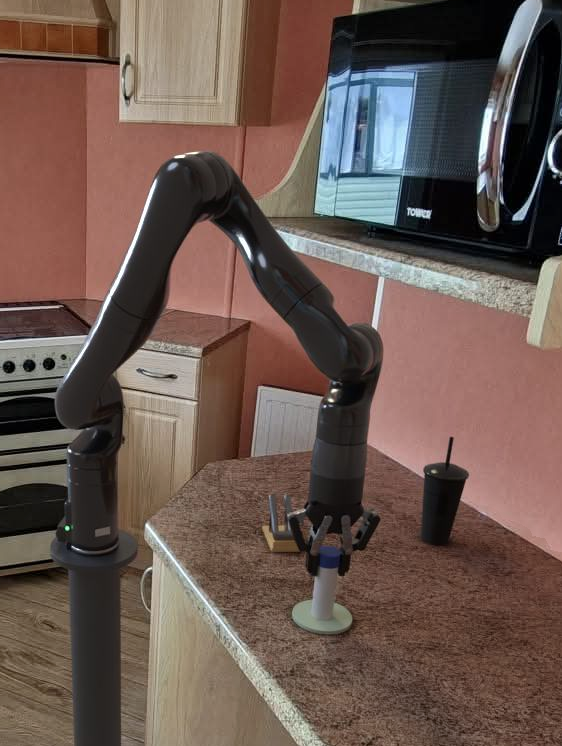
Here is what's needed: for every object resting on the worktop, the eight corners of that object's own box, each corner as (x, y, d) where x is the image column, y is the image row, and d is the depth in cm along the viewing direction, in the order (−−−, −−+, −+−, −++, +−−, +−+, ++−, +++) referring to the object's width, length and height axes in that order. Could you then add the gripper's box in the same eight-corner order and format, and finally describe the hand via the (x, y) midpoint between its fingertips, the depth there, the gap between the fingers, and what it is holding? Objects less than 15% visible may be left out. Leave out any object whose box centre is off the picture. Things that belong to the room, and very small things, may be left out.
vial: (302, 560, 126) (317, 540, 116) (325, 559, 126) (342, 540, 116) (309, 623, 122) (325, 608, 113) (332, 623, 122) (350, 608, 113)
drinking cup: (465, 543, 145) (484, 440, 137) (434, 552, 142) (452, 447, 134) (434, 527, 151) (450, 427, 143) (404, 535, 148) (419, 433, 140)
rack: (262, 529, 150) (264, 492, 147) (289, 529, 150) (292, 491, 147) (271, 552, 141) (274, 513, 138) (300, 551, 142) (304, 512, 139)
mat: (290, 630, 118) (291, 626, 118) (293, 599, 127) (293, 596, 126) (352, 638, 117) (353, 634, 116) (351, 606, 125) (351, 603, 124)
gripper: (294, 477, 108) (284, 587, 115) (396, 476, 109) (381, 585, 115) (282, 458, 115) (274, 562, 122) (379, 457, 116) (365, 561, 122)
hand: (326, 573), depth 119 cm, fingers closed on vial, 3 cm apart
